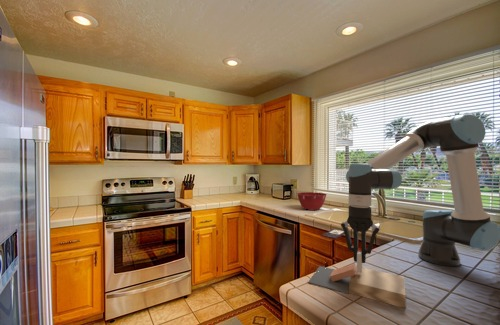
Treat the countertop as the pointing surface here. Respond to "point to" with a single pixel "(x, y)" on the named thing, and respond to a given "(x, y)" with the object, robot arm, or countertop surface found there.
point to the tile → (343, 272)
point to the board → (379, 286)
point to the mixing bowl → (311, 200)
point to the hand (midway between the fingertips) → (359, 270)
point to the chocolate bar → (333, 234)
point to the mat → (329, 280)
